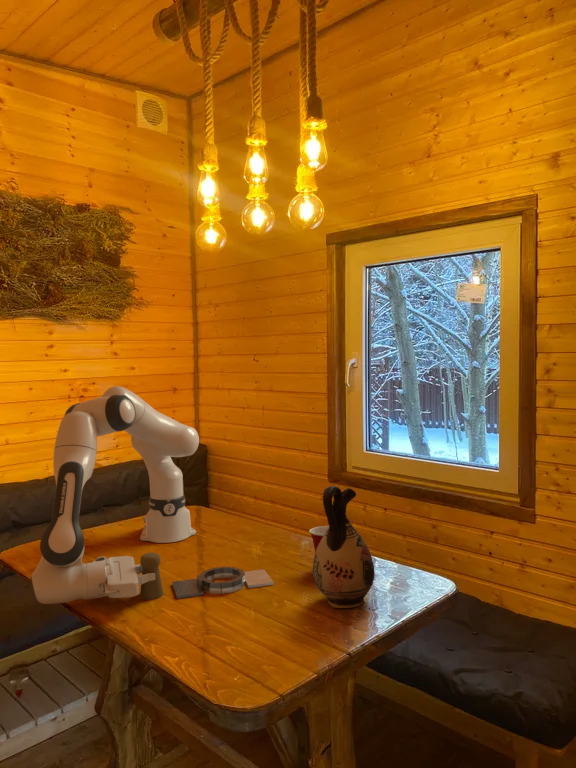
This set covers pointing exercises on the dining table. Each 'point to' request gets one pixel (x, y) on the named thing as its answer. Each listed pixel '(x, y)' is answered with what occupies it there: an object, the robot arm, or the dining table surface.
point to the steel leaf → (251, 580)
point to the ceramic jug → (342, 555)
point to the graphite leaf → (207, 582)
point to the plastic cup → (318, 535)
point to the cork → (153, 587)
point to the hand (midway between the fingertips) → (154, 572)
